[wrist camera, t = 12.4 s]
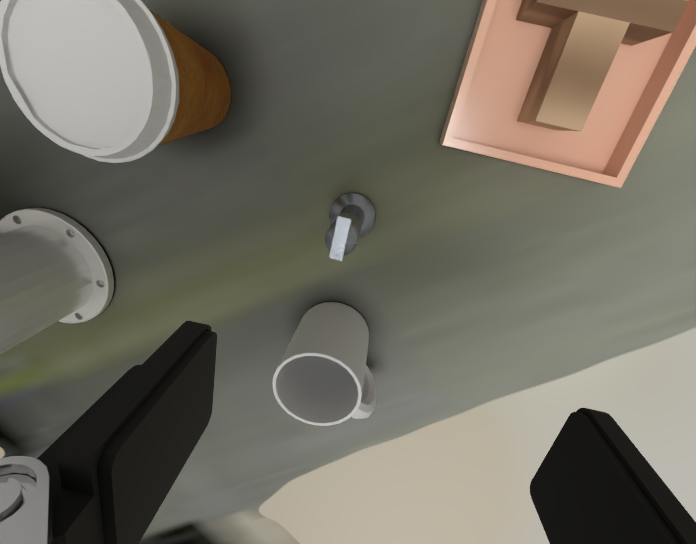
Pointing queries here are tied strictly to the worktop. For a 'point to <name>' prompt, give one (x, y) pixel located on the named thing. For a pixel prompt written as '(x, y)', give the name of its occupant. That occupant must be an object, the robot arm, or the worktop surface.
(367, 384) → the cup
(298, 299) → the worktop surface
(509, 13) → the tray
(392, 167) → the worktop surface
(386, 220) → the worktop surface
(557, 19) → the brown square frame
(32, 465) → the robot arm
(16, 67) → the disposable coffee cup
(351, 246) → the grey piece
